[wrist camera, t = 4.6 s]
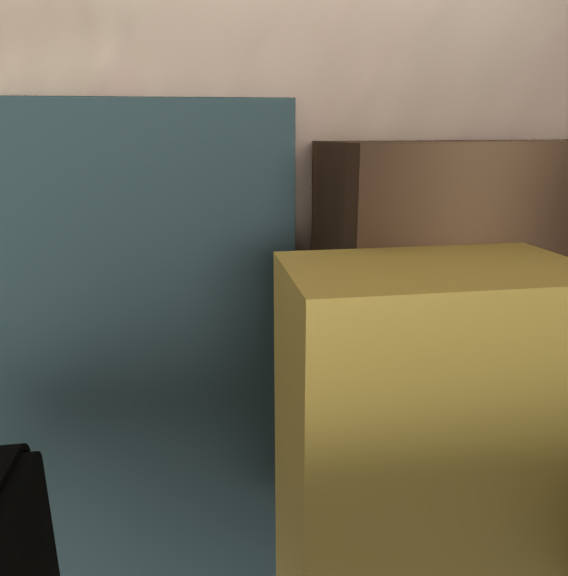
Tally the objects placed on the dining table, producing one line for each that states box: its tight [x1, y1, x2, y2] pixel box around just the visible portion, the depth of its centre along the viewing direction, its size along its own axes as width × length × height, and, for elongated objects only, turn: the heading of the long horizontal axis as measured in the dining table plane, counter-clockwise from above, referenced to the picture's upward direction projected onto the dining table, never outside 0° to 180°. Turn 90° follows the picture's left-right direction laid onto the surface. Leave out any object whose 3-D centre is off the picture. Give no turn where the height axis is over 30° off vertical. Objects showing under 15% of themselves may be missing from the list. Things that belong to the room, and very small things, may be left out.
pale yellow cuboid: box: [273, 243, 568, 576], centre depth 10 cm, size 5×8×3 cm, turn 0°
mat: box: [0, 96, 295, 576], centre depth 14 cm, size 12×14×1 cm
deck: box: [312, 140, 568, 257], centre depth 14 cm, size 12×12×4 cm
